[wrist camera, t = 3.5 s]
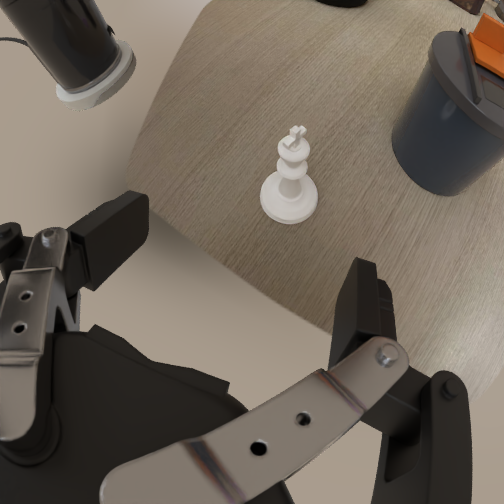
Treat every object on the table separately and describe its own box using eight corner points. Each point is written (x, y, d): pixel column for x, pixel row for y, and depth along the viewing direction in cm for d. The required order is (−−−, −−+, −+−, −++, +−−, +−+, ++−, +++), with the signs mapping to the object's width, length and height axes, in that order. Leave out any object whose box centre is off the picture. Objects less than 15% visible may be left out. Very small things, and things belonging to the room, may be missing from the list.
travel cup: (382, 177, 26) (441, 85, 13) (392, 97, 28) (429, 9, 15) (474, 214, 25) (557, 156, 12) (472, 133, 27) (528, 65, 14)
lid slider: (475, 62, 14) (491, 35, 11) (467, 35, 15) (480, 10, 12) (511, 83, 14) (529, 60, 11) (501, 54, 15) (516, 32, 12)
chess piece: (329, 195, 26) (355, 129, 16) (291, 236, 25) (301, 184, 16) (286, 161, 27) (290, 86, 17) (248, 198, 26) (233, 132, 17)
